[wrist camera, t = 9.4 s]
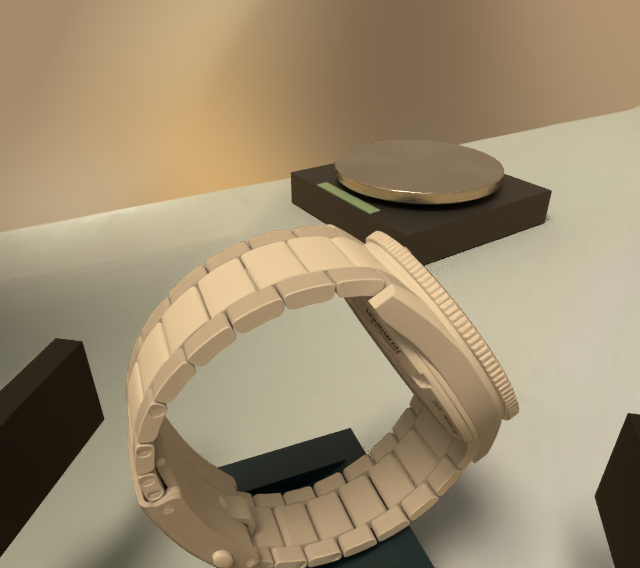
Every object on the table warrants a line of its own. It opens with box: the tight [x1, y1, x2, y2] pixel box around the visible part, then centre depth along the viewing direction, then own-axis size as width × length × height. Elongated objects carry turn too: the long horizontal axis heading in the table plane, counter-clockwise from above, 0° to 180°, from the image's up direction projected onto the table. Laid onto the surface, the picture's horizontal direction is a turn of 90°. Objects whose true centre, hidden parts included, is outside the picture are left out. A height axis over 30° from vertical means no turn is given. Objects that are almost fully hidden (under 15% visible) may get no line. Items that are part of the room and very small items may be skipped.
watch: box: [126, 224, 519, 568], centre depth 13 cm, size 6×8×11 cm
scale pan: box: [334, 140, 504, 204], centre depth 37 cm, size 12×12×1 cm
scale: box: [291, 163, 552, 265], centre depth 38 cm, size 13×13×2 cm
